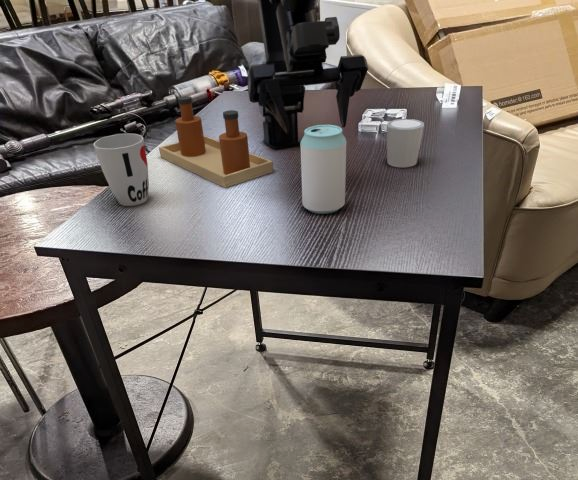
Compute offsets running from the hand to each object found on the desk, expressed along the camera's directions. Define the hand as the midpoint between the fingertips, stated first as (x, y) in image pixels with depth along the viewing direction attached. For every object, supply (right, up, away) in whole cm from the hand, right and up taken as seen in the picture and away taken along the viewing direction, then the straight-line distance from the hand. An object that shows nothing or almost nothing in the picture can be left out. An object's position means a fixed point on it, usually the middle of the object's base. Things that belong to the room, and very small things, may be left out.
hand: (316, 129), depth 83 cm
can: (+1, -11, +4) cm, 12 cm away
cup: (-32, -8, +10) cm, 35 cm away
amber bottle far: (-24, +8, +27) cm, 37 cm away
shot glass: (+17, +2, +18) cm, 25 cm away
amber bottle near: (-14, 0, +17) cm, 22 cm away
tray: (-19, +4, +22) cm, 30 cm away
